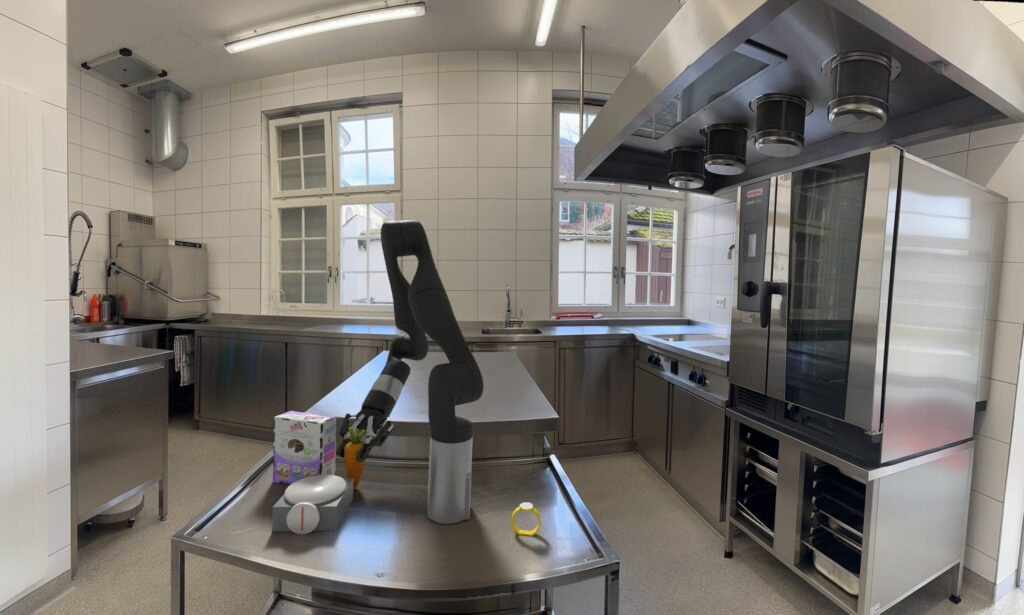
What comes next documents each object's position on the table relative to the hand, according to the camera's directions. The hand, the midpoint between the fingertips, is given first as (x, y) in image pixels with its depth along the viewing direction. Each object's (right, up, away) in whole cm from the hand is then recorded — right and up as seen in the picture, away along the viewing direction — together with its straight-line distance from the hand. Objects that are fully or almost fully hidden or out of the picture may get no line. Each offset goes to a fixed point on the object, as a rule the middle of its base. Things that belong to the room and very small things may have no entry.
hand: (350, 458), depth 95 cm
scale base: (-4, -8, -9) cm, 13 cm away
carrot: (0, -8, +2) cm, 9 cm away
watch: (+41, -11, -12) cm, 44 cm away
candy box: (-13, -8, +4) cm, 16 cm away
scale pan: (-3, -3, -10) cm, 11 cm away
